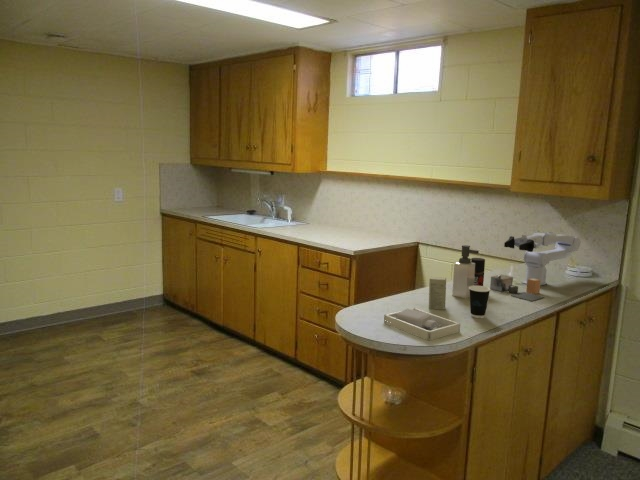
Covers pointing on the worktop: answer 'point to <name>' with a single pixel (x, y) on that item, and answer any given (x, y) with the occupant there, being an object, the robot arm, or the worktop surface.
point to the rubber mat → (527, 296)
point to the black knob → (513, 289)
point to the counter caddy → (447, 328)
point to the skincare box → (437, 293)
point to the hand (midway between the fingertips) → (512, 246)
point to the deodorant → (478, 271)
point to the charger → (417, 318)
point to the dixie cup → (478, 300)
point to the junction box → (501, 283)
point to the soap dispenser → (464, 274)
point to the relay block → (533, 286)
